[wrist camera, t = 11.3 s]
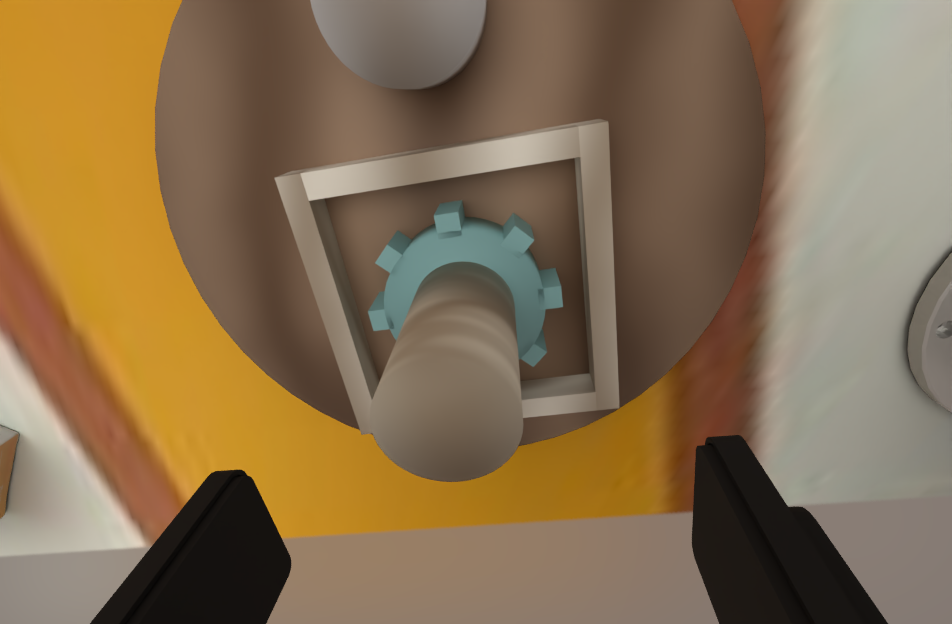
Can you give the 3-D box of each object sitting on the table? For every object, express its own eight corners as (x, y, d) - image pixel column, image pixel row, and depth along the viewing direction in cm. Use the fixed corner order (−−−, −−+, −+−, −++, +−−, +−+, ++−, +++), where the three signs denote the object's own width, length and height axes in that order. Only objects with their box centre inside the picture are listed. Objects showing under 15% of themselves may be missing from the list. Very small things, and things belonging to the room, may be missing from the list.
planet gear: (547, 186, 18) (587, 265, 10) (563, 354, 21) (603, 517, 13) (358, 216, 19) (253, 310, 11) (401, 373, 22) (346, 537, 14)
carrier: (778, -240, 14) (894, -376, 10) (726, 406, 24) (772, 471, 20) (66, -67, 16) (-75, -118, 12) (289, 450, 27) (251, 515, 23)
